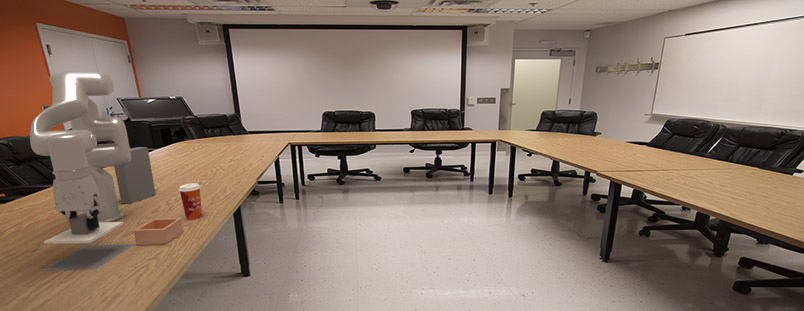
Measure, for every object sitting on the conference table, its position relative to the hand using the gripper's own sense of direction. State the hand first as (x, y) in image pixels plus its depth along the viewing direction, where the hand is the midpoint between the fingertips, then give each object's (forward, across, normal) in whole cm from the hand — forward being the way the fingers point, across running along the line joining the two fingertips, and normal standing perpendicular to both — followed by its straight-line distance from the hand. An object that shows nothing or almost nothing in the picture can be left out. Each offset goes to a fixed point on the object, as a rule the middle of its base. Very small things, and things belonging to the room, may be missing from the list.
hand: (85, 228), depth 103 cm
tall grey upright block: (+12, -26, +58) cm, 65 cm away
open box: (+10, +15, +11) cm, 21 cm away
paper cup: (+11, +15, +32) cm, 37 cm away
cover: (+2, 0, 0) cm, 2 cm away
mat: (+10, 0, -1) cm, 10 cm away
